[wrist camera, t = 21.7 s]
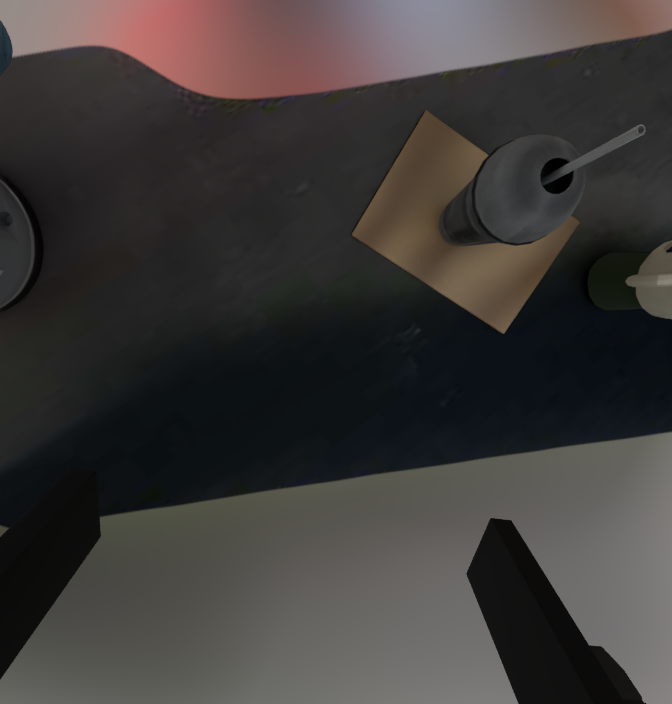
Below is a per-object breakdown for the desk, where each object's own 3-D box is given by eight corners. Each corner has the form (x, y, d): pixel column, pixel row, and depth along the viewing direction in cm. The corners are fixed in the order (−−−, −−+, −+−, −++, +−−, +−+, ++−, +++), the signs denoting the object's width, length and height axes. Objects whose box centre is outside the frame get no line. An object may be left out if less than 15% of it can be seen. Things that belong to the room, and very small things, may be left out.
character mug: (660, 247, 38) (830, 224, 26) (652, 312, 40) (811, 322, 27) (563, 249, 38) (687, 228, 25) (558, 315, 39) (673, 327, 26)
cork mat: (350, 235, 37) (351, 234, 36) (424, 112, 35) (426, 109, 35) (501, 333, 39) (503, 334, 39) (577, 222, 38) (580, 221, 37)
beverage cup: (411, 214, 36) (518, 122, 17) (471, 172, 36) (653, 25, 16) (448, 273, 37) (589, 253, 18) (506, 233, 37) (717, 166, 17)
